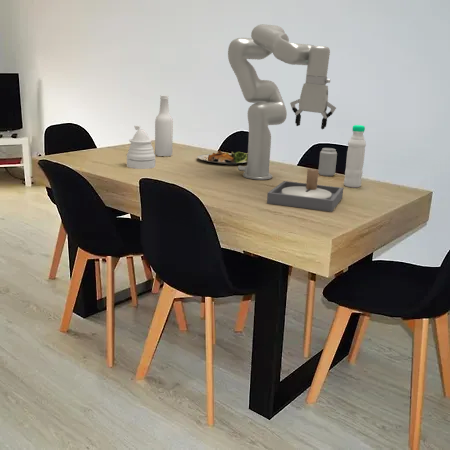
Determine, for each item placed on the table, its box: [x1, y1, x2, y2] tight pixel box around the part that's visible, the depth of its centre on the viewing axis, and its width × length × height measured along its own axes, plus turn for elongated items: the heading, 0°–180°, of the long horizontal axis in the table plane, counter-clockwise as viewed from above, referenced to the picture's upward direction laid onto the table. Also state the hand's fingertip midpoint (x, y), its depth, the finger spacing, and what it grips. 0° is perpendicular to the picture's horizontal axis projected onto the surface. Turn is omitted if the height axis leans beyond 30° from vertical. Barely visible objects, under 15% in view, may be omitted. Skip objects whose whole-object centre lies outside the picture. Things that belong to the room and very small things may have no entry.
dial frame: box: [266, 180, 344, 212], centre depth 201 cm, size 23×23×6 cm
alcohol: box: [154, 94, 174, 157], centre depth 276 cm, size 9×9×30 cm
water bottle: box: [343, 124, 367, 189], centre depth 225 cm, size 7×7×25 cm
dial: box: [282, 168, 332, 200], centre depth 200 cm, size 18×18×8 cm
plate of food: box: [196, 150, 248, 166], centre depth 272 cm, size 28×28×6 cm
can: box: [318, 147, 338, 177], centre depth 248 cm, size 8×8×12 cm
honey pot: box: [126, 125, 156, 170], centre depth 249 cm, size 13×13×18 cm
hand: (310, 127), depth 209 cm, fingers open, 9 cm apart
